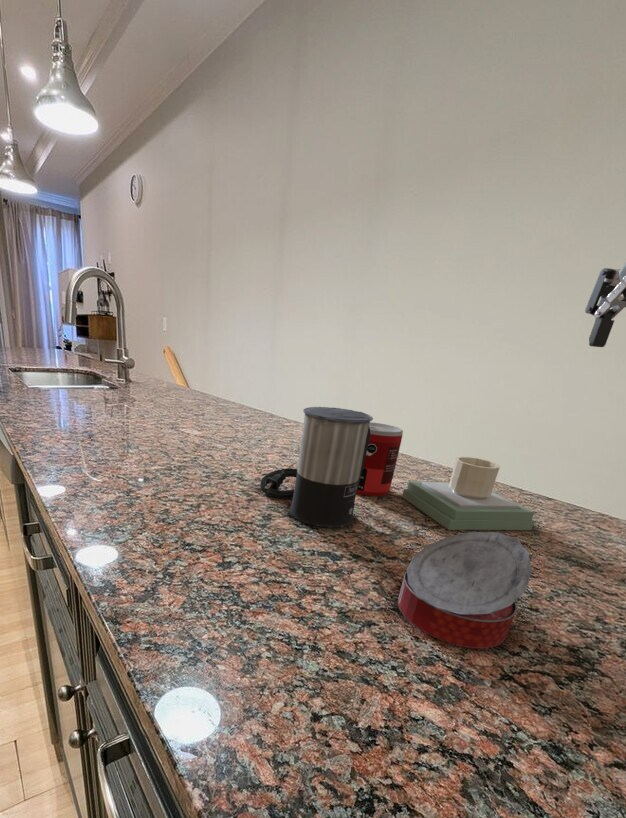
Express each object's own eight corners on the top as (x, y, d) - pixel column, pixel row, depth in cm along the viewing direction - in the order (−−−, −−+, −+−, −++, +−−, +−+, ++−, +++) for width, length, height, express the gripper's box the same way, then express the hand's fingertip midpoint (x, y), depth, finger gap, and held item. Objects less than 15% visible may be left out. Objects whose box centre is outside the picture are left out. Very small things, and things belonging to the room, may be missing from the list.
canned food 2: (491, 683, 42) (554, 639, 34) (383, 647, 43) (419, 597, 36) (490, 584, 48) (542, 528, 41) (396, 556, 50) (429, 498, 42)
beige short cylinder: (472, 487, 73) (481, 457, 71) (498, 500, 67) (509, 468, 65) (440, 486, 72) (448, 456, 70) (463, 499, 66) (473, 467, 64)
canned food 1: (336, 481, 80) (347, 420, 76) (378, 483, 81) (391, 423, 77) (350, 496, 73) (363, 430, 69) (396, 498, 74) (411, 433, 70)
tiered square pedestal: (472, 491, 76) (475, 483, 75) (516, 515, 66) (519, 505, 66) (419, 490, 74) (421, 481, 73) (457, 514, 64) (460, 504, 64)
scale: (474, 499, 78) (479, 482, 77) (531, 530, 66) (538, 512, 65) (401, 497, 75) (405, 480, 74) (447, 530, 63) (453, 511, 62)
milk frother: (346, 535, 59) (369, 423, 53) (236, 509, 64) (246, 404, 58) (361, 502, 71) (381, 408, 65) (268, 483, 76) (278, 394, 70)
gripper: (769, 202, 50) (701, 354, 57) (644, 226, 63) (599, 347, 69) (719, 192, 49) (654, 349, 55) (601, 219, 62) (559, 343, 68)
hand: (623, 348), depth 62 cm, fingers open, 8 cm apart
